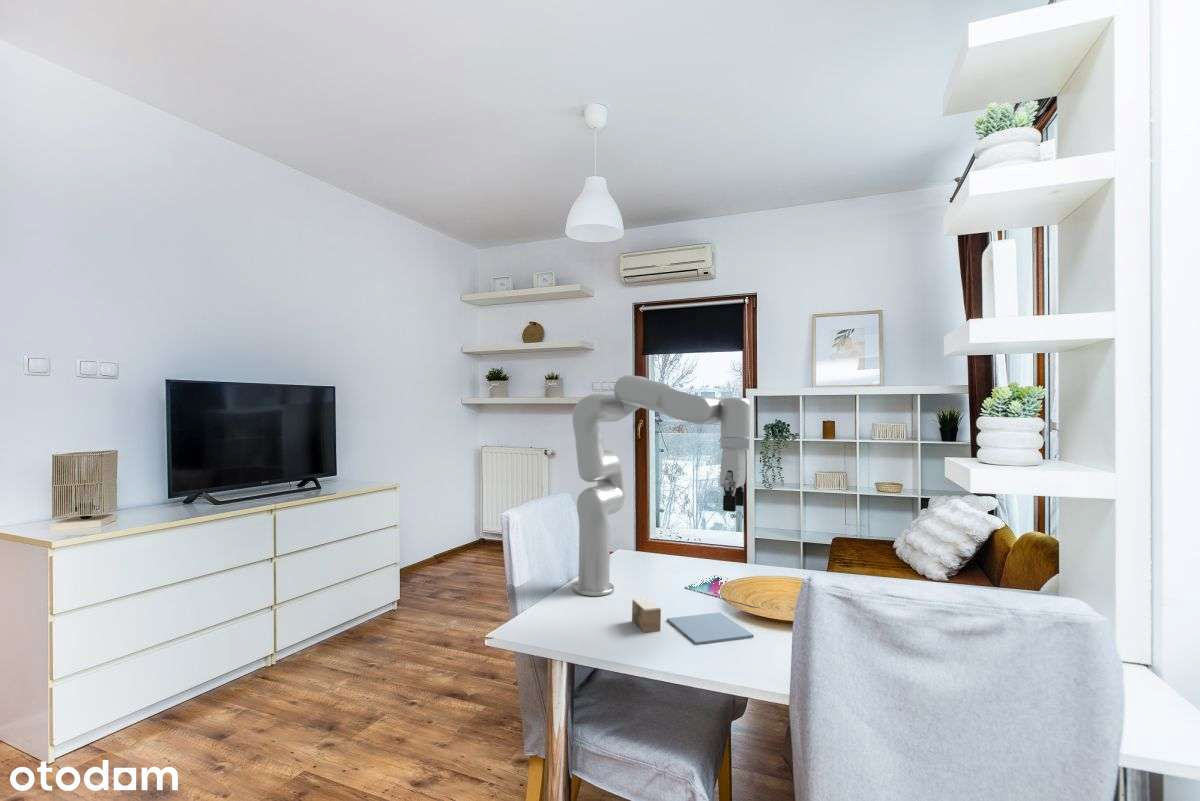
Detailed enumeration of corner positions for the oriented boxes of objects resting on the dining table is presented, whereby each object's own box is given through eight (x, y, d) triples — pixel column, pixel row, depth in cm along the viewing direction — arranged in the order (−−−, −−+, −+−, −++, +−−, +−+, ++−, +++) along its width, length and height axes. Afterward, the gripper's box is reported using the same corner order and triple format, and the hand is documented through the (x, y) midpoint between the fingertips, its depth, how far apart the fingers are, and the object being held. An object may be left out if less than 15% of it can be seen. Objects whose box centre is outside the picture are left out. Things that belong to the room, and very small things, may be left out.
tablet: (714, 577, 195) (714, 574, 195) (785, 594, 178) (785, 591, 178) (682, 590, 180) (682, 587, 180) (756, 609, 164) (756, 607, 164)
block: (631, 621, 152) (632, 599, 152) (647, 620, 153) (648, 597, 153) (643, 633, 144) (644, 609, 144) (660, 631, 146) (660, 607, 146)
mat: (667, 620, 153) (667, 618, 153) (720, 614, 158) (720, 612, 158) (696, 644, 138) (696, 642, 138) (753, 637, 143) (753, 634, 143)
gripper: (728, 441, 163) (727, 502, 163) (712, 445, 148) (711, 512, 147) (755, 442, 160) (754, 504, 160) (741, 446, 144) (740, 515, 144)
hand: (733, 508), depth 154 cm, fingers open, 9 cm apart
